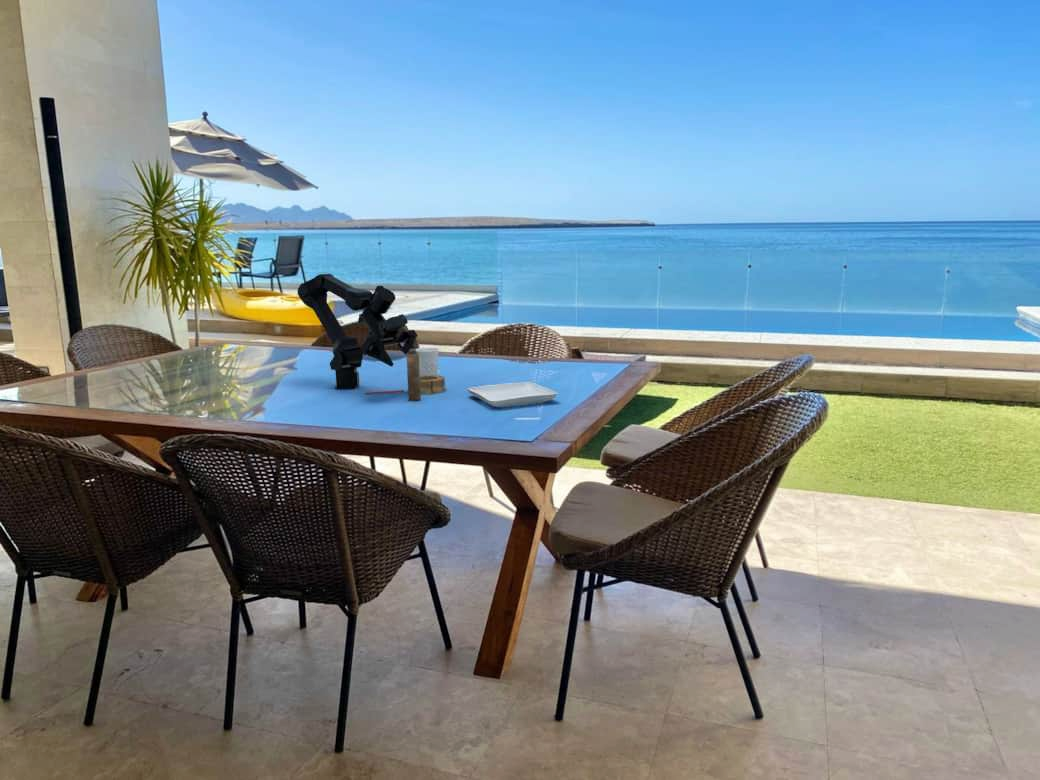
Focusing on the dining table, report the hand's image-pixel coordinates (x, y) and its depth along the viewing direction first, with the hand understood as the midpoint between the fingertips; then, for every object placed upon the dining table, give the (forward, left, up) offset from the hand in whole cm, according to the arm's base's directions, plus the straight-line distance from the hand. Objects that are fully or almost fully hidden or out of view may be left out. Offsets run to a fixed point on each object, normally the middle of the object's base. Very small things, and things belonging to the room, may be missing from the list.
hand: (404, 363), depth 230 cm
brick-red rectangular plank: (-8, +8, -11) cm, 15 cm away
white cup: (+2, +31, -11) cm, 33 cm away
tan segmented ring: (+5, +11, -11) cm, 16 cm away
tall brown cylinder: (+3, -2, -11) cm, 11 cm away
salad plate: (+32, -3, -11) cm, 34 cm away
